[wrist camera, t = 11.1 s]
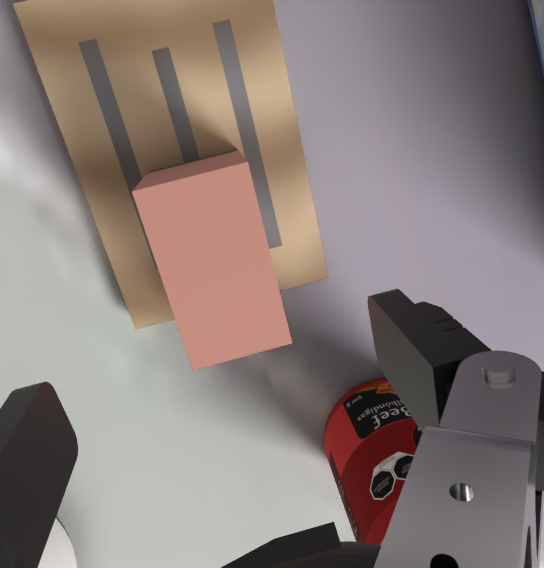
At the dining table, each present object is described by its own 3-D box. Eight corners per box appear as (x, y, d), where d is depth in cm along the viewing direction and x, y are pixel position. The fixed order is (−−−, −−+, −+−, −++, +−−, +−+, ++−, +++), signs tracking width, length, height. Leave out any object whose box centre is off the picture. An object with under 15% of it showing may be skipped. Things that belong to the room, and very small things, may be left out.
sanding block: (148, 171, 24) (131, 191, 18) (237, 149, 24) (247, 161, 18) (195, 315, 27) (192, 370, 21) (273, 294, 27) (292, 343, 21)
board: (24, 10, 22) (12, 3, 21) (257, -45, 22) (261, -55, 21) (138, 318, 28) (135, 329, 26) (322, 269, 28) (328, 277, 27)
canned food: (448, 384, 32) (561, 512, 22) (406, 479, 35) (491, 634, 24) (342, 364, 31) (412, 492, 20) (306, 465, 33) (352, 626, 23)
